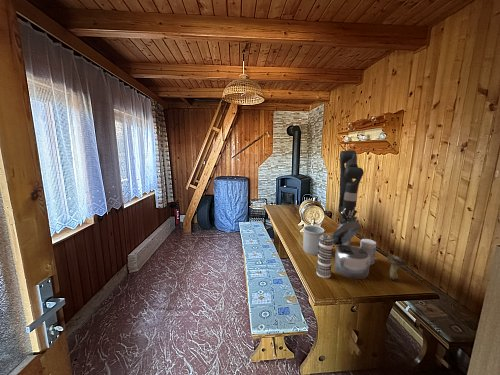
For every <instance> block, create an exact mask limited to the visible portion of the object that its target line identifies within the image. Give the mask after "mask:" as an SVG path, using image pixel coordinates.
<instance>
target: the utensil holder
mask: <svg viewBox="0 0 500 375" xmlns="http://www.w3.org/2000/svg"><path fill="white" fill-rule="evenodd" d="M324 234H325V229H324V228H323V227H321V226H318V225H314V224H313V225H312V224H311V225H305V226H304V227H303V239H302V241H303V242H302V251H304V253H306V254H308V255H311V256H318V243H319V242H320V238H319V237H320V236H322V235H324Z"/></svg>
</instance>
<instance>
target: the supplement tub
mask: <svg viewBox="0 0 500 375" xmlns="http://www.w3.org/2000/svg"><path fill="white" fill-rule="evenodd" d="M359 248H362V249H364V250H366V251H367V252H369V253H370V255H371V259H370V266H371V265H373V264H375V258H376V252H377V241H375V240H372V239H370V238H362V239H360V245H359Z"/></svg>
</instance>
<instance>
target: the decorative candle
mask: <svg viewBox="0 0 500 375" xmlns="http://www.w3.org/2000/svg"><path fill="white" fill-rule="evenodd" d="M319 238H320V242H319V243H318V255H317V258H318V259H317V262H316V270H315V271H316V275H317V276H319V277H320V278H324V279H329V278H330V277H331V276H332V267H333V265H332V259H333V256H334V247H335V245H334V244H333V240H334V239H333V238H332V235H331V234H325V233H324V235H322V236H320V237H319Z"/></svg>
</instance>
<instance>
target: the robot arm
mask: <svg viewBox="0 0 500 375" xmlns="http://www.w3.org/2000/svg"><path fill="white" fill-rule="evenodd" d="M339 170H340V173H339V174H340V175H339V200H338V214H340V216H341V217H342V218H340V219H339V224H338V227H339V226H340V225H342V224H343V223H345V222H347V221H349V219H350V217H356V215H357V213H358V210H356V207H357V201H358V192H359V186H360V183H361V180H362V178H363V176H364V169H363V168H362V167H359V165H358V154H357V152H356V151H355V149H354V150H352V149H351V150H341V151H340V154H339ZM351 243H352V238H351V239H350V240H349V241H347V242H346V243H344V244H341V245H352V244H351Z"/></svg>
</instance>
